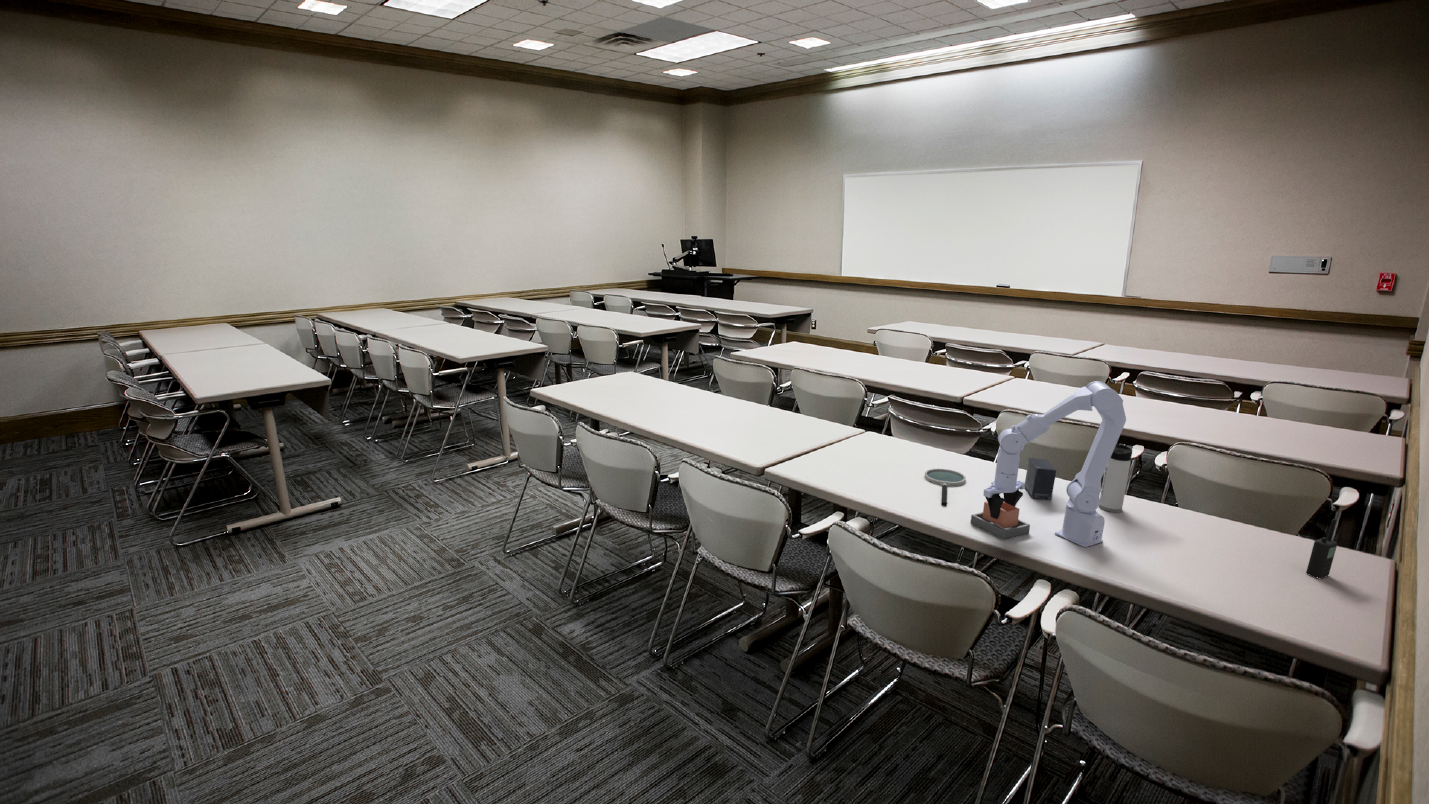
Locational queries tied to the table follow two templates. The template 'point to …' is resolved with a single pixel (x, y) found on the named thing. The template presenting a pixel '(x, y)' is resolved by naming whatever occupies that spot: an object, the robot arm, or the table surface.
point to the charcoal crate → (998, 530)
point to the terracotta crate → (1003, 515)
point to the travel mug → (1115, 479)
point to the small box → (1040, 478)
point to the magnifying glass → (945, 480)
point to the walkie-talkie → (1322, 555)
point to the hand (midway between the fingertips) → (1000, 515)
